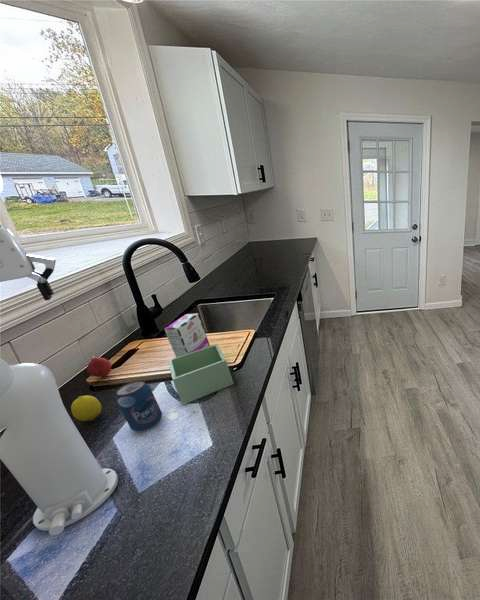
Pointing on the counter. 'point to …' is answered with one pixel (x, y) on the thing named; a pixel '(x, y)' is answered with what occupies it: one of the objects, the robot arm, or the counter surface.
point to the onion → (98, 367)
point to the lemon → (86, 408)
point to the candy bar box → (187, 335)
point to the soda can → (138, 405)
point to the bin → (200, 373)
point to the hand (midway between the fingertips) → (17, 305)
